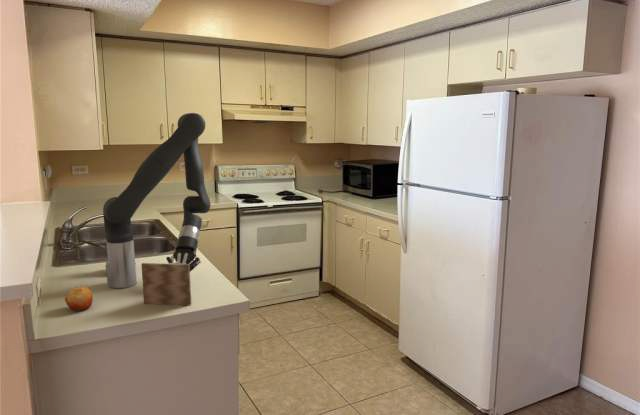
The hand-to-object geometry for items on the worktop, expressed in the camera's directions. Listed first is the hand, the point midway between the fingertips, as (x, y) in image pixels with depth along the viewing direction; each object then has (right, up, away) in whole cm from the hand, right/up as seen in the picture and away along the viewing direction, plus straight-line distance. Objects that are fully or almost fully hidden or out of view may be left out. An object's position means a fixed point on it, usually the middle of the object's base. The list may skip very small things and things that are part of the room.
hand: (178, 281), depth 161 cm
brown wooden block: (-1, -6, -7) cm, 9 cm away
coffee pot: (-36, 0, +23) cm, 42 cm away
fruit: (-28, -7, -13) cm, 32 cm away
